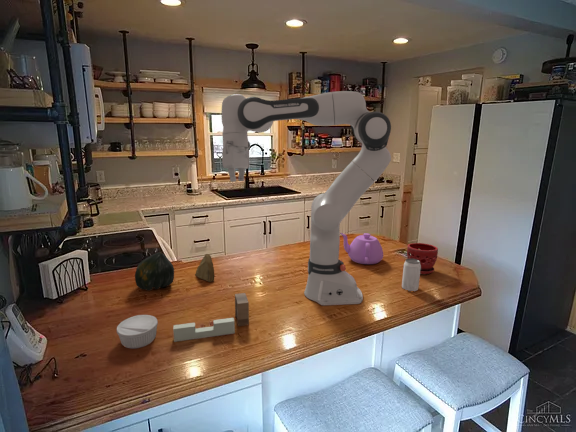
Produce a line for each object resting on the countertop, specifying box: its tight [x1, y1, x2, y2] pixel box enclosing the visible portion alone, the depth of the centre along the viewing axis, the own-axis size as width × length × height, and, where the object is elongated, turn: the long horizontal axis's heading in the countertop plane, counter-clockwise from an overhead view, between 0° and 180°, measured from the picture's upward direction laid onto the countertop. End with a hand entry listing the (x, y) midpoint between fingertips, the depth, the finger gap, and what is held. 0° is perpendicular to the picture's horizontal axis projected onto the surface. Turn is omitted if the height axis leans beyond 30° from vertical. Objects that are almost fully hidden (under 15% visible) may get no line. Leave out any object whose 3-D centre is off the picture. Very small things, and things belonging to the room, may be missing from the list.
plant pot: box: [406, 242, 439, 275], centre depth 158 cm, size 13×13×12 cm
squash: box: [134, 252, 175, 291], centre depth 137 cm, size 14×15×15 cm
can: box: [401, 258, 421, 292], centre depth 140 cm, size 6×6×12 cm
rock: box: [194, 253, 215, 283], centre depth 146 cm, size 11×9×10 cm
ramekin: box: [116, 314, 159, 349], centre depth 103 cm, size 11×11×5 cm
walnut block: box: [234, 292, 250, 327], centre depth 114 cm, size 7×4×8 cm, turn 16°
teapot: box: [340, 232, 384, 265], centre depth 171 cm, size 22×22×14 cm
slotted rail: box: [172, 317, 236, 343], centre depth 105 cm, size 18×2×4 cm, turn 106°
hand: (237, 181), depth 124 cm, fingers open, 8 cm apart
